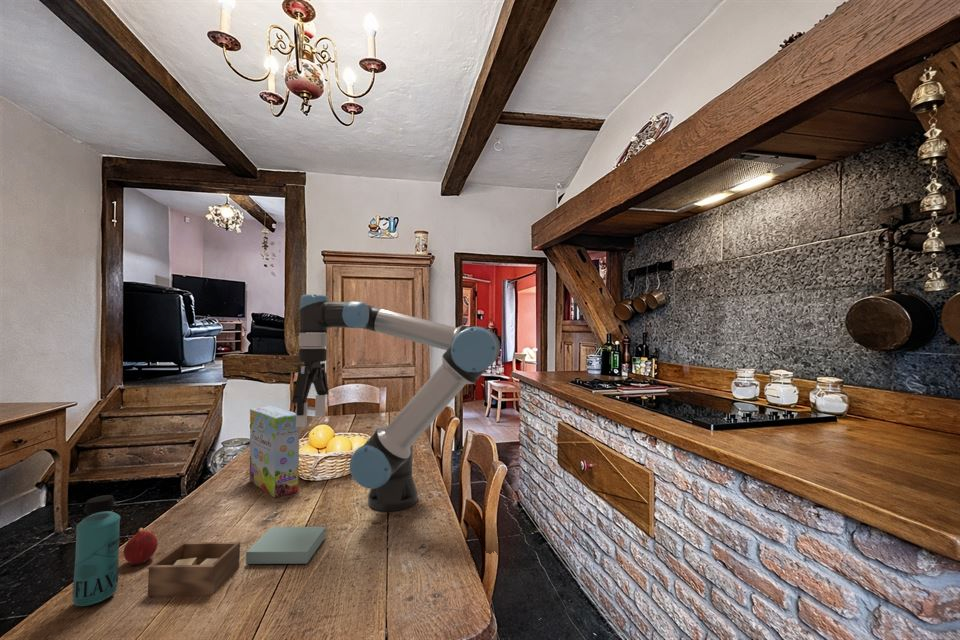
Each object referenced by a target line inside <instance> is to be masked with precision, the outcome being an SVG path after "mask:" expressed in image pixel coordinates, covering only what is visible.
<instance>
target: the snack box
mask: <svg viewBox="0 0 960 640" xmlns="http://www.w3.org/2000/svg"><path fill="white" fill-rule="evenodd" d="M299 450H300V427H296V412H293V411H291V410H287V409H284V408H281V407H278V406H274V405H268V406H261V407H255V408H254V407H253V408H249V481H250V483H252V484H253V485H255V486H257V487H258V488H260V489H261V490H262V491H264V492H266V493H267V494H268V495H269V496H271V497H273V498H274V499H275V498H279V496H280V497H283V496H285V495H289V493H290V494H293V493H297V492H299V470H300V468H299V466H300V465H299V462H300V460H299V459H300V458H299V457H300V453H299V452H300V451H299Z"/></svg>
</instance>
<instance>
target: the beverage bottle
mask: <svg viewBox="0 0 960 640" xmlns="http://www.w3.org/2000/svg"><path fill="white" fill-rule="evenodd" d="M114 507H115V501H114V496H113V495H111V494H106V495H99V496H96V497H92V498H89V499H87V500H86V502H85V508H84V514H91V515H88V516H86V517H84V518H83V519H82V520H81V521H80V522H79V523H77V524H76V526H75V527H76V528H75V529H76V538H75V540H76V541H75V558H74V559H75V560H74V566H73V567H72V568H73V569H74V570H73V580H72V588H71V589H72V591H71V594H72V603H73V605H75V606H77V607H85V606H91V605H94V604H97V603H99V602H102V601H104V600H107V599H108V598H110V597H111V596H113V595H114V594H115V592H116V590H117V588H118V583H119V578H120V577H119V576H120V574H119V573H120V571H119V566H120V565H119V563H120V561H119V552H120V543H121V539H120V534H121V532H120V525H121V524H120V523H121V522H120V521H121V515H120V514H118V513H116V512H114V511H112V510H110V509H112V508H114ZM108 510H110V511H108Z"/></svg>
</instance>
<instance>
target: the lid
mask: <svg viewBox="0 0 960 640" xmlns="http://www.w3.org/2000/svg"><path fill="white" fill-rule="evenodd" d="M326 528H327V527H326V526H271V527H270V528H269V529H268V530H266V532H265V533H264V534H263V535H261V537H260V538H259V539H258V540H257V541H256V542H255V543H253V545H252V546H250V548H249V549H248V550H246V552H245V555H246V556H245V564H246V565H262V564H263V565H265V564H267V565H270V564H271V565H273V564H276V565H277V564H281V565H282V564H283V565H284V564H285V565H287V564H292V565H293V564H295V565H296V564H299V565H300V564H308V563H309V561H310V560H311V558H312V557H313V556H314V554H315V553H316V552H317V550H318V549H319V547H320V546H321V544H322V543H323V542H324V540H325V538H326V531H327V529H326Z"/></svg>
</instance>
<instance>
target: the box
mask: <svg viewBox="0 0 960 640" xmlns="http://www.w3.org/2000/svg"><path fill="white" fill-rule="evenodd" d="M240 553H241V542H240V541H233V542H231V541H229V542H227V541H224V542H223V541H217V542H215V541H213V542H211V541H210V542H209V541H208V542H207V541H205V542H204V541H202V542H201V541H198V542H197V541H195V542H193V541H192V542H191V541H187V542H185V541H183V542H181V543H180V544H178V546H177V545H176V547H175V548H173V549H172V550H170V551H169V552H168V553H166V554H165V555H164V556H162V557H160V558H159V559H158V560H157V561H155V562H153V563H152V564H151V565H149V566H148V573H147V574H148V578H147V580H148V581H147V597H148V596H150V597H151V596H213V595H214V593H216V592H217V591H218V590H219V588H220V587H222V585H224V584H225V582H226V581H227V580H229V579H230V578H231V576H232V575H234V574H235V572H236V571H237V570H238V569H239V568H240V561H241V559H240V557H241V556H240ZM189 558H197V561H196V565H174V564H175V562H176V561H177V560H182V559H189ZM215 558H219V559H217V560H216V561H215V562H214V563H213V564H212V565H200V564H201V563H202V562H203V561H205V560H206V559H215Z"/></svg>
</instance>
